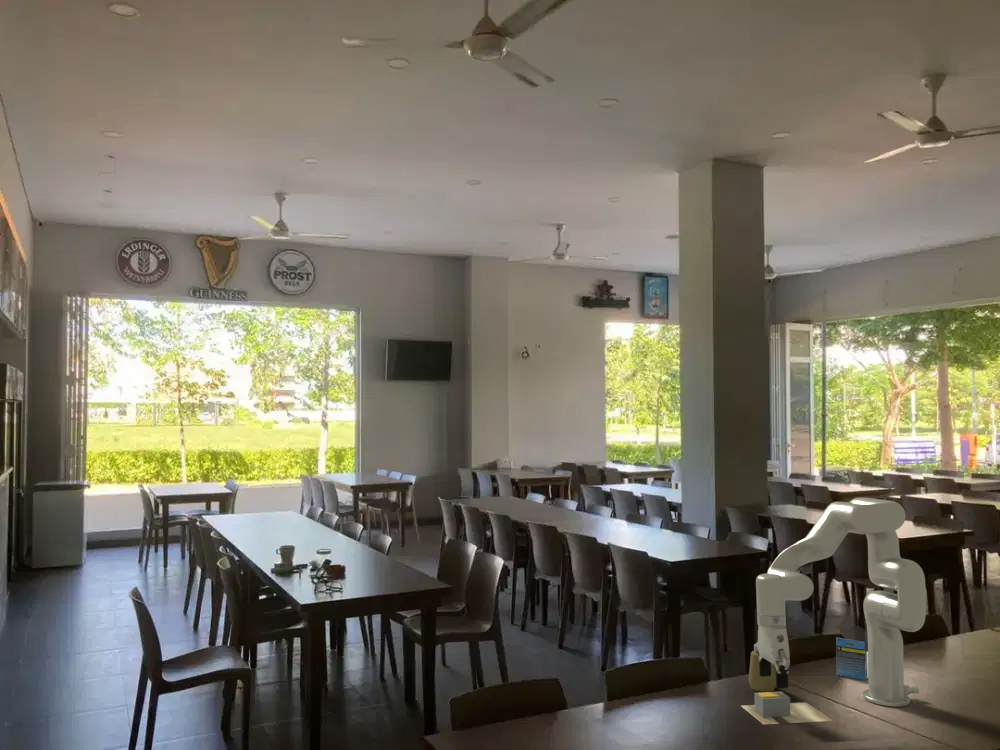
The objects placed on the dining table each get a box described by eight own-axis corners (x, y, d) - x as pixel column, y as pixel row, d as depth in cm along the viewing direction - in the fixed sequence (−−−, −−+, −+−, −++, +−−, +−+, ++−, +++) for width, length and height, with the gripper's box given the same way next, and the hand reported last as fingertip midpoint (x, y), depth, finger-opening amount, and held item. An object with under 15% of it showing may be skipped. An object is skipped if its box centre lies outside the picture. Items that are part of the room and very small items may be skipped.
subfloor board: (806, 707, 232) (806, 702, 232) (833, 726, 218) (833, 720, 218) (740, 711, 229) (740, 705, 229) (763, 730, 215) (763, 724, 215)
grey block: (781, 709, 226) (781, 690, 226) (790, 716, 221) (790, 696, 222) (754, 711, 225) (754, 691, 225) (762, 717, 220) (762, 698, 220)
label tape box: (867, 677, 259) (867, 638, 260) (865, 681, 256) (865, 641, 256) (838, 672, 264) (837, 634, 264) (836, 676, 260) (835, 637, 261)
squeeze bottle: (778, 698, 239) (777, 637, 240) (750, 696, 241) (749, 635, 242) (774, 689, 247) (774, 630, 248) (747, 688, 249) (746, 628, 249)
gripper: (799, 627, 216) (802, 691, 216) (769, 611, 234) (771, 670, 233) (773, 628, 215) (775, 693, 215) (744, 612, 233) (747, 672, 232)
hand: (773, 681), depth 224 cm, fingers open, 9 cm apart
